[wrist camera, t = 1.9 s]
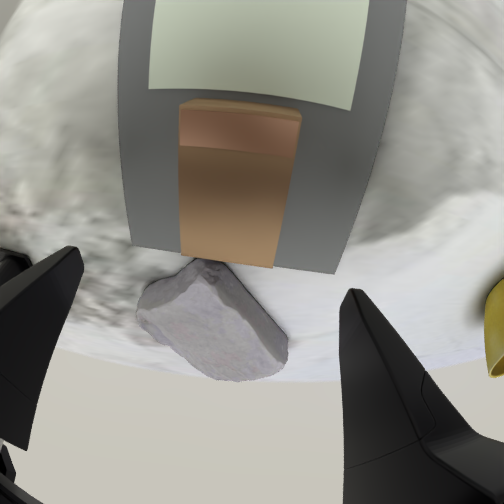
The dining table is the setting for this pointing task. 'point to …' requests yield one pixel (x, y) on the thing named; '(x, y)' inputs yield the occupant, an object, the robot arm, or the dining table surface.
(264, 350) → the stone block
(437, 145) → the dining table surface
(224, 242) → the cardboard carton
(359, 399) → the robot arm
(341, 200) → the mat
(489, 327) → the yellow bowl
